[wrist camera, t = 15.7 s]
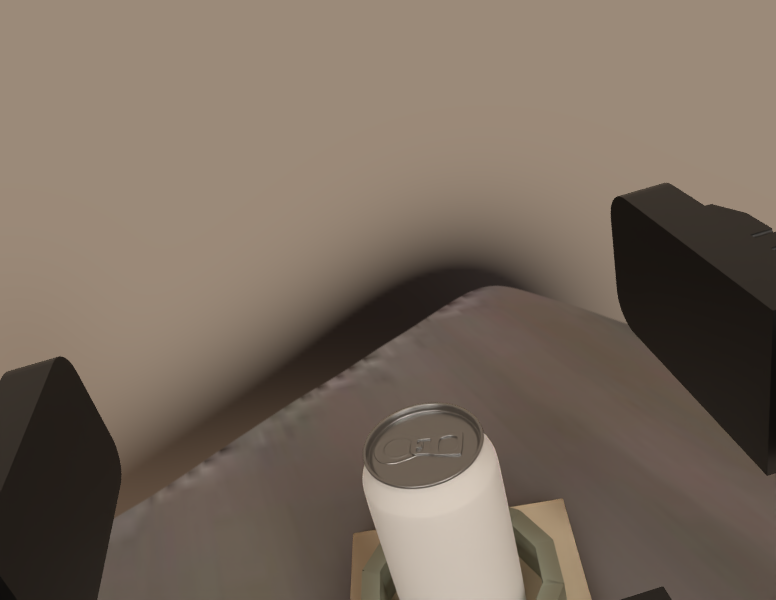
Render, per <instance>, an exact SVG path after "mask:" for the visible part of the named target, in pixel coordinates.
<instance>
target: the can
mask: <svg viewBox="0 0 776 600" xmlns="http://www.w3.org/2000/svg"><path fill="white" fill-rule="evenodd" d="M363 461H364V464H365V465H364V469H363V477H362V481H363V488H364V493H365V496H366V500H367V503H368V506H369V509H370V512H371V516H372V519H373V522H374V525H375V528H376V531H377V534H378V537H379V540H380V543H381V546H382V549H383V552H384V555H385V558H386V561H387V564H388V567H389V570H390V573H391V576H392V579H393V582H394V585H395V588H396V591H397V594H398V597H399V600H526V594H525V588H524V583H523V577H522V572H521V567H520V562H519V557H518V552H517V547H516V542H515V537H514V532H513V527H512V522H511V517H510V512H509V508H508V503H507V498H506V493H505V488H504V483H503V479H502V474H501V469H500V465H499V461H498V457H497V454H496V451H495V448H494V446H493V444H492V443H491V441H490V440H489V438H488V437H487V436H486V435H485V434H484V433H483V429H482V426H481V424H480V422H479V420H478V419H477V418H476V417H475V416H474V415H473V414H472V413H471V412H469V411H468V410H466V409H464V408H462V407H459V406H456V405H453V404H448V403H438V402H433V403H422V404H417V405H413V406H409V407H406V408H403V409H401V410H399V411H396V412H394V413H393V414H391V415H389V416H388V417H386V418H385V419H383V420H382V421H381V422H380V423H378V424H377V425H376V426H375V427H374V428H373V430H372V431H371V432H370V434H369V435H368V437H367V439H366V441H365V444H364V447H363Z"/></svg>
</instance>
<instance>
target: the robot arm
mask: <svg viewBox="0 0 776 600" xmlns="http://www.w3.org/2000/svg"><path fill="white" fill-rule="evenodd" d="M611 223H612V224H611V225H612V237H613V247H614V260H615V271H616V284H617V293H618V299H619V303H620V307H621V310H622V312H623V315H624V317H625V319H626V321H627V323H628V325H629V327H630V328H631V330H632V331H633V332H634V333H635V334H636V335H637V336H638V338H639V339H640V340H641V341H642V342H643V343H644V344H645V345H646V346H647V347H648V348H649V349H650V350H651V351H652V353H653V354H654V355H655V356H656V357H657V358H658V359H659V360H660V361H661V362H662V363H663V364H664V365H665V367H666V368H667V369H668V370H669V371H670V372H671V373H672V374H673V375H674V376H675V377H676V378H677V379H678V381H679V382H680V383H681V384H682V385H683V386H684V387H685V388H686V389H687V390H688V391H689V392H690V393H691V394H692V396H693V397H694V398H695V399H696V400H697V401H698V402H699V403H700V404H701V405H702V406H703V407H704V408H705V410H706V411H707V412H708V413H709V414H710V415H711V416H712V417H713V418H714V419H715V420H716V421H717V422H718V423H719V425H720V426H721V427H722V428H723V429H724V430H725V431H726V432H727V433H728V434H729V435H730V436H731V437H732V439H733V440H734V441H735V442H736V443H737V444H738V445H739V446H740V447H741V448H742V449H743V450H744V451H745V452H746V454H747V455H748V456H749V457H750V458H751V459H752V460H753V461H754V462H755V463H756V464H757V465H758V466H759V468H760V469H761V470H762V471H763V472H764V473H765V474H766V475H767V476H768V475H771V474H774V473H776V232H774V233H773V231H772V228H770V227H769V226H767V225H765V224H764V223H762V222H760V221H759V220H757V219H755V218H754V217H752V216H750V215H749V214H747V213H744V212H740V211H736V210H732V209H728V208H724V207H720V206H717V205H713V204H710V205H706V206H704V205H703V204H701V203H699V202H698V201H696V200H695V199H693V198H692V197H690V196H689V195H687V194H686V193H684V192H682V191H681V190H679V189H678V188H676V187H675V186H673V185H671V184H669V183H663V184H659V185H656V186H652V187H649V188H646V189H642V190H638V191H635V192H631V193H628V194H625V195H621V196H618V197H616V198H614V200H613V202H612V205H611ZM120 485H121V465H120V460H119V456H118V452H117V449H116V446H115V443H114V441H113V439H112V437H111V435H110V433H109V431H108V429H107V427H106V426H105V424H104V422H103V420H102V418H101V417H100V414H99V413H98V411H97V409H96V407H95V405H94V403H93V401H92V400H91V398H90V396H89V394H88V392H87V390H86V388H85V387H84V385H83V383H82V381H81V379H80V377H79V375H78V374H77V372H76V370H75V368H74V367H73V365H72V364H71V363H70V362H69V361H68V360H67V359H66V358H64V357H56V358H53V359H49V360H46V361H42V362H39V363H35V364H32V365H28V366H25V367H21V368H18V369H15V370H11V371H8V372H6V373H5V374H4V375H3V376H2V378H1V380H0V600H97V598H98V593H99V588H100V583H101V578H102V573H103V568H104V563H105V558H106V553H107V549H108V544H109V539H110V534H111V529H112V524H113V519H114V514H115V509H116V504H117V499H118V494H119V490H120ZM621 600H671V598H670V596H669V595H668V593H667V592H666V590H665V588H664V587H659V588H656V589H653V590H650V591H647V592H644V593H640V594H637V595H634V596H631V597H628V598H625V599H621Z"/></svg>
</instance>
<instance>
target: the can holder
mask: <svg viewBox="0 0 776 600" xmlns="http://www.w3.org/2000/svg"><path fill="white" fill-rule="evenodd" d="M508 508H509V512H510V517H511V522H512V527H513V532H514V537H515V542H516V547H517V552H518V557H519V562H520V567H521V572H522V577H523V583H524V588H525V594H526V600H592V599H591V596H590V592H589V589H588V585H587V582H586V578H585V575H584V571H583V568H582V564H581V561H580V557H579V554H578V550H577V547H576V543H575V540H574V536H573V533H572V529H571V526H570V522H569V519H568V515H567V512H566V508H565V505H564V501H563V498H562V499H557V500H551V501H545V502H539V503H533V504H527V505H521V506H515V507H508ZM350 600H399V597H398V594H397V591H396V588H395V585H394V582H393V579H392V576H391V573H390V570H389V567H388V564H387V561H386V558H385V555H384V552H383V549H382V546H381V543H380V540H379V537H378V534H377V531H376V530H371V531H365V532H359V533H353V549H352V572H351V594H350Z"/></svg>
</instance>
